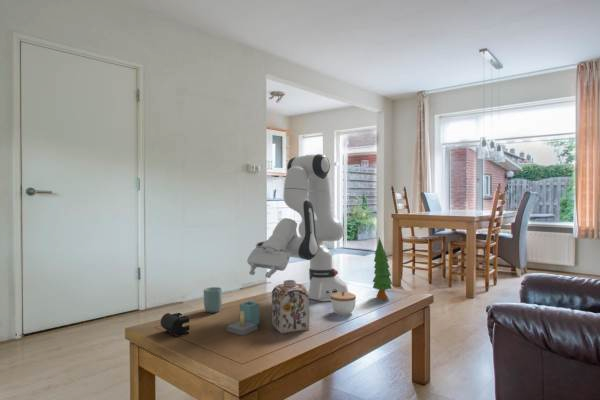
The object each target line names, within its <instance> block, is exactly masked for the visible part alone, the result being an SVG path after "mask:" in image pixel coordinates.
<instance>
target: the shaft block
mask: <svg viewBox="0 0 600 400" xmlns="http://www.w3.org/2000/svg"><path fill="white" fill-rule="evenodd" d="M226 329H227V330H226V331H227V332H228V333H232V334H236V335H239V336H245V335H247V334H250V333H253V332H255V331H257V330H258V324H254V323H250V322H246V321H245V312H244V311H241V312H240V311H239V321H238V322H235V323H231V324H229V325H227V326H226Z"/></svg>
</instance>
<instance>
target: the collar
mask: <svg viewBox="0 0 600 400" xmlns="http://www.w3.org/2000/svg"><path fill="white" fill-rule="evenodd" d="M241 311H244V312H245V321H246V322H250V323H254V324H257V325H258V324H260V302H256V301H252V300H251V301H250V300H249V301H245V302H242V303H239V313H240V312H241Z"/></svg>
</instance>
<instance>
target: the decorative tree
mask: <svg viewBox="0 0 600 400" xmlns="http://www.w3.org/2000/svg"><path fill="white" fill-rule="evenodd" d="M376 246H377V247H376V249H375V252H374V260H373V262H375V264H374V268H373V269H374V272H373V273H374V275H375V276H374V277H373V279H372V283H373V287H372V288H373V289H376V290H378V292H377V295H376V297H375V299H377V300H379V299H380V300H388V299H389V297H388V294H386V290H390V289H392V286H391V285H393V282H392V280H391V278H390V276H392V275H391V272H390V270H389V268H390V265H389V263H388V262H389V260H388V257H387V253H386V251H385V249H384V246H383V243H382V240H381V238H380V237H378V241H377V245H376Z"/></svg>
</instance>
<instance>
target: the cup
mask: <svg viewBox="0 0 600 400" xmlns="http://www.w3.org/2000/svg"><path fill="white" fill-rule="evenodd" d="M222 291H223V289H222V287H219V286H212V287H211V286H210V287H205V288H204V289H203V306H204V310H205V311H206V313H211V314H213V313H214V314H215V313H218V312H220V310H221V308H222V303H223V292H222Z"/></svg>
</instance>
